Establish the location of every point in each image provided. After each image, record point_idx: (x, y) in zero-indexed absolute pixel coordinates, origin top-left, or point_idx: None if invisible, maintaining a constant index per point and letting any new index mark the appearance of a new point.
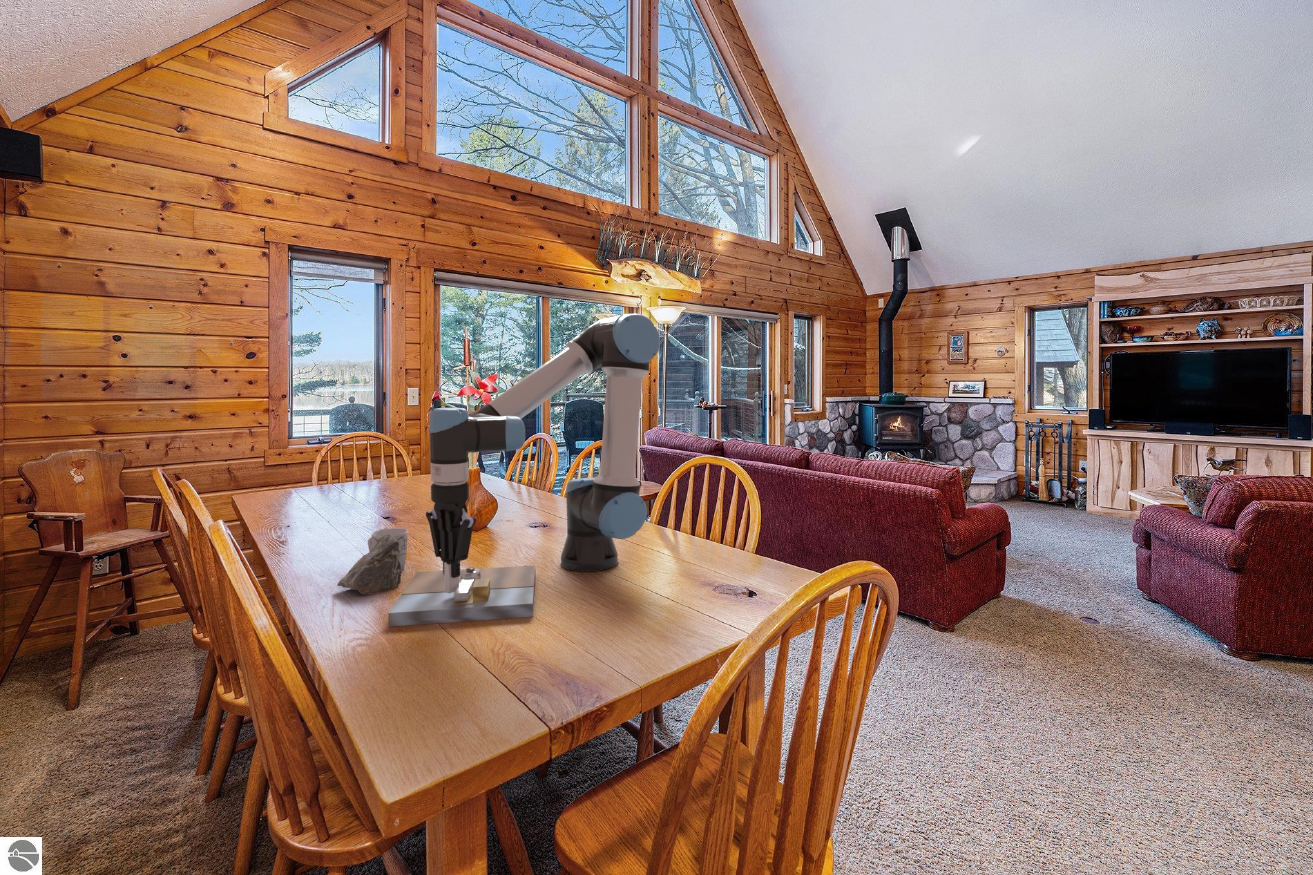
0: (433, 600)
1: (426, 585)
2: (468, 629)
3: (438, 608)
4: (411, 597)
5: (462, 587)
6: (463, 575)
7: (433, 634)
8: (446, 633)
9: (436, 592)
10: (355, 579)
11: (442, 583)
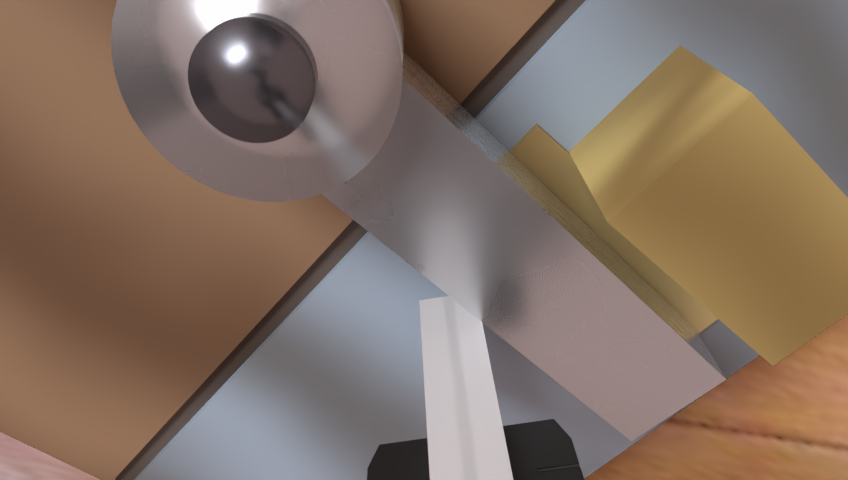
0: (411, 422)
1: (17, 309)
2: (807, 352)
3: None
4: (231, 474)
5: (578, 339)
6: (308, 192)
7: (671, 474)
8: (725, 437)
9: (247, 330)
10: None
11: (50, 198)
